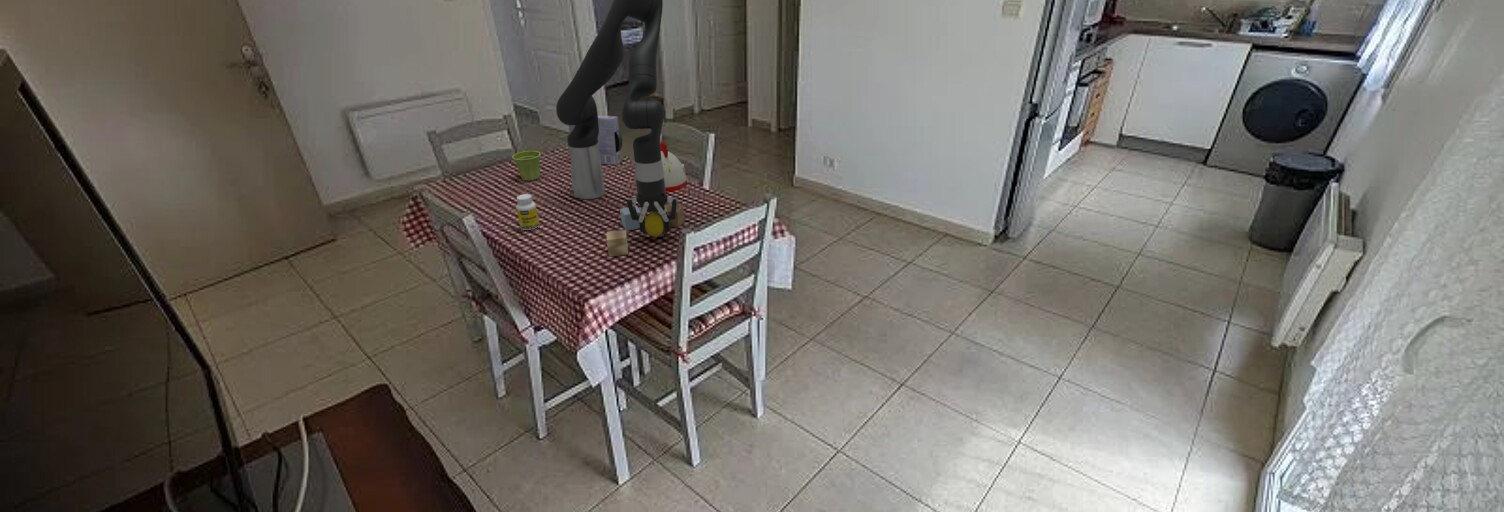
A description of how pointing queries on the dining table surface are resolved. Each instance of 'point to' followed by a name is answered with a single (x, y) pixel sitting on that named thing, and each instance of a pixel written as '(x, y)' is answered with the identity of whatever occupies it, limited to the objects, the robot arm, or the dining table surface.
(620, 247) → the block oak
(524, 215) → the supplement bottle
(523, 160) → the plant pot
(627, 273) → the dining table surface
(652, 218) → the lemon
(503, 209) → the dining table surface
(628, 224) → the block slate
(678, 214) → the block walnut
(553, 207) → the dining table surface
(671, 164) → the kitchen timer
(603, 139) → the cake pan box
